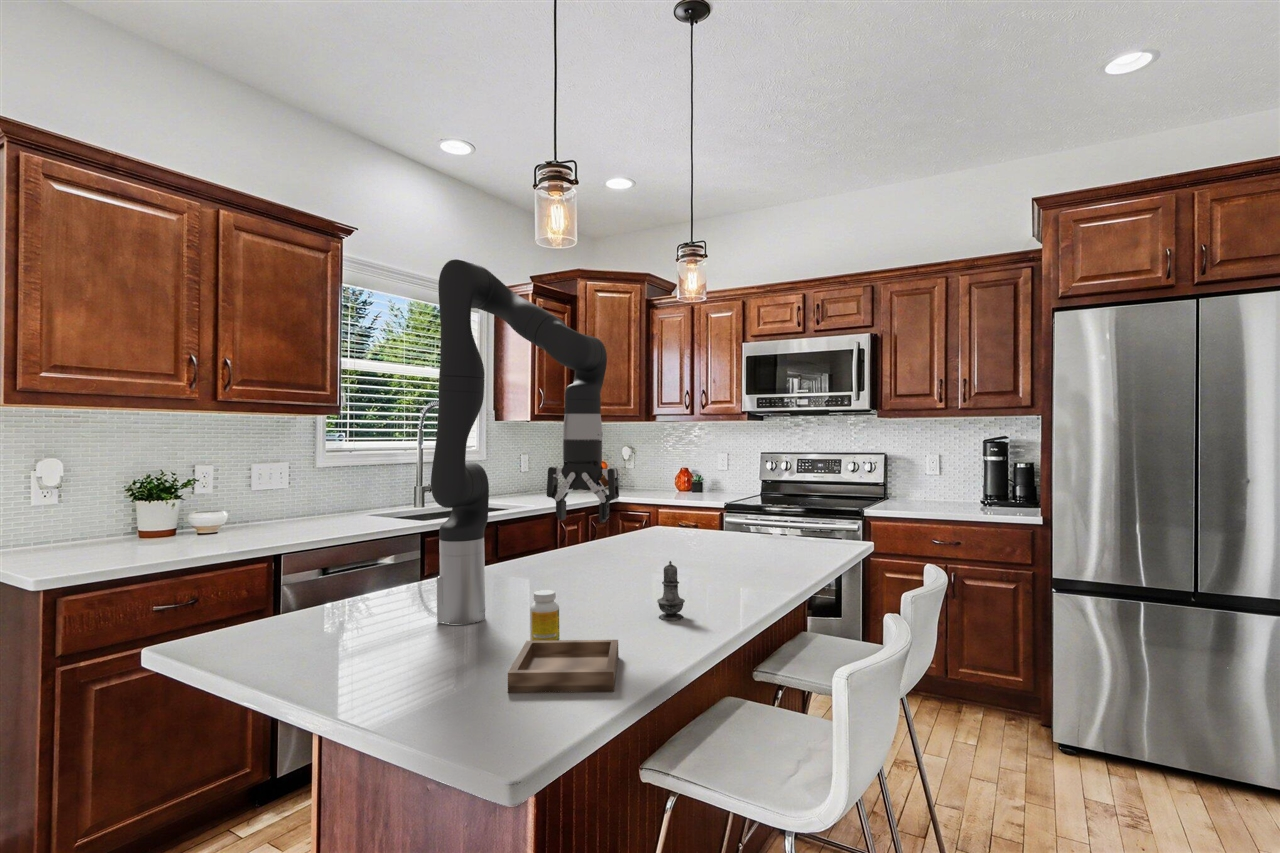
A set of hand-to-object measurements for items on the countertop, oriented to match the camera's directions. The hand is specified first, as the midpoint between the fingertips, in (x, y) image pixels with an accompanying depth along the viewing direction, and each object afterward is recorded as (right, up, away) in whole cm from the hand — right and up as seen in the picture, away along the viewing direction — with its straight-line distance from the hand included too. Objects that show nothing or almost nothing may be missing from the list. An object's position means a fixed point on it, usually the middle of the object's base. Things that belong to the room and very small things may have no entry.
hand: (582, 521), depth 132 cm
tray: (-1, -22, -22) cm, 31 cm away
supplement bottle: (-6, -22, -5) cm, 24 cm away
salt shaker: (+18, -22, +11) cm, 30 cm away
